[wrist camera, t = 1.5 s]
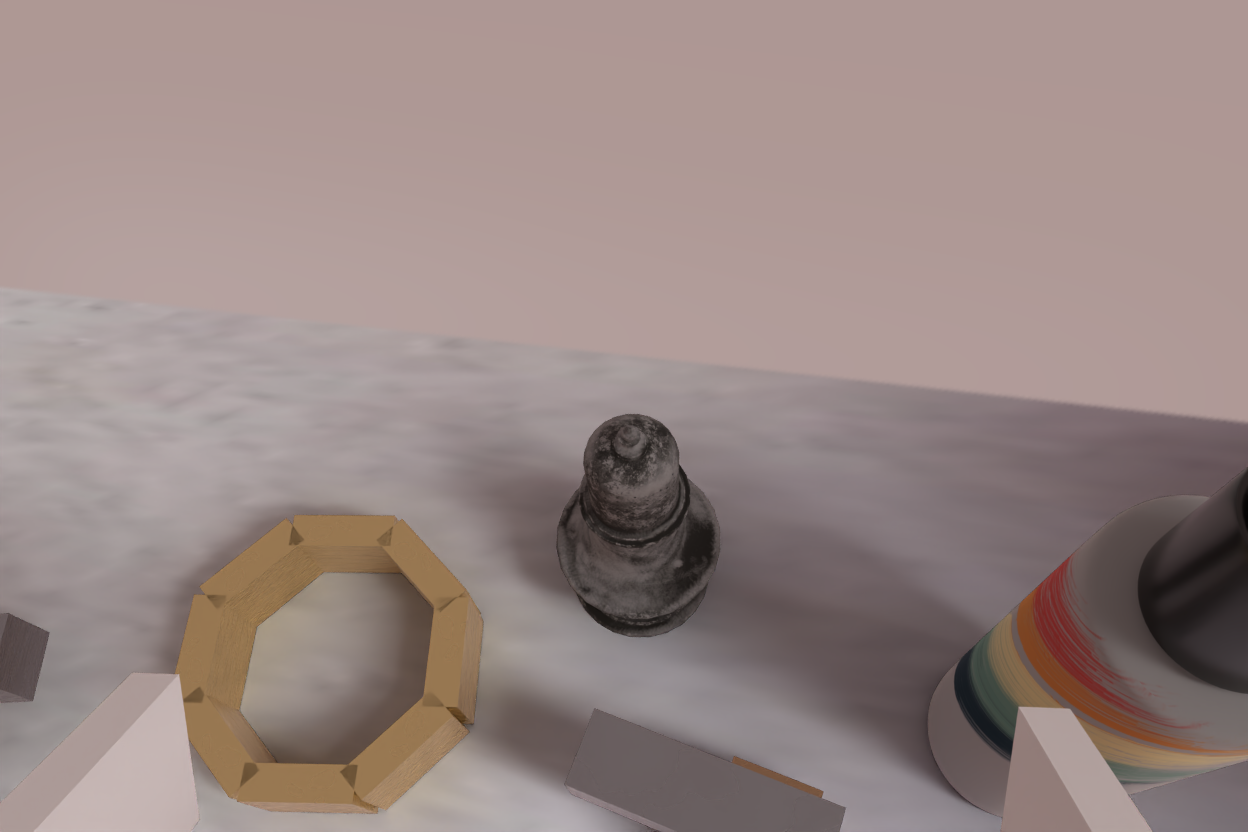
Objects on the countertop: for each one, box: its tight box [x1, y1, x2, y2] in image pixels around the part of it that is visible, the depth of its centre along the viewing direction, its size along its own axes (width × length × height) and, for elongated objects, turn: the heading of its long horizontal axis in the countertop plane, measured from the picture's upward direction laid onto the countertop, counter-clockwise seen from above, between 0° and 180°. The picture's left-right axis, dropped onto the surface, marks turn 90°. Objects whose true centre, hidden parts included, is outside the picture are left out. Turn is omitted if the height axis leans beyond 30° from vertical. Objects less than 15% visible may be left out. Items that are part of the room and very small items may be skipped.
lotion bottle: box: [928, 467, 1248, 817], centre depth 25 cm, size 6×6×20 cm
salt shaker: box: [557, 414, 720, 637], centre depth 32 cm, size 6×6×12 cm
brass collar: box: [175, 515, 483, 814], centre depth 35 cm, size 10×10×3 cm
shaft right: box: [565, 709, 846, 832], centre depth 31 cm, size 8×4×5 cm, turn 69°
